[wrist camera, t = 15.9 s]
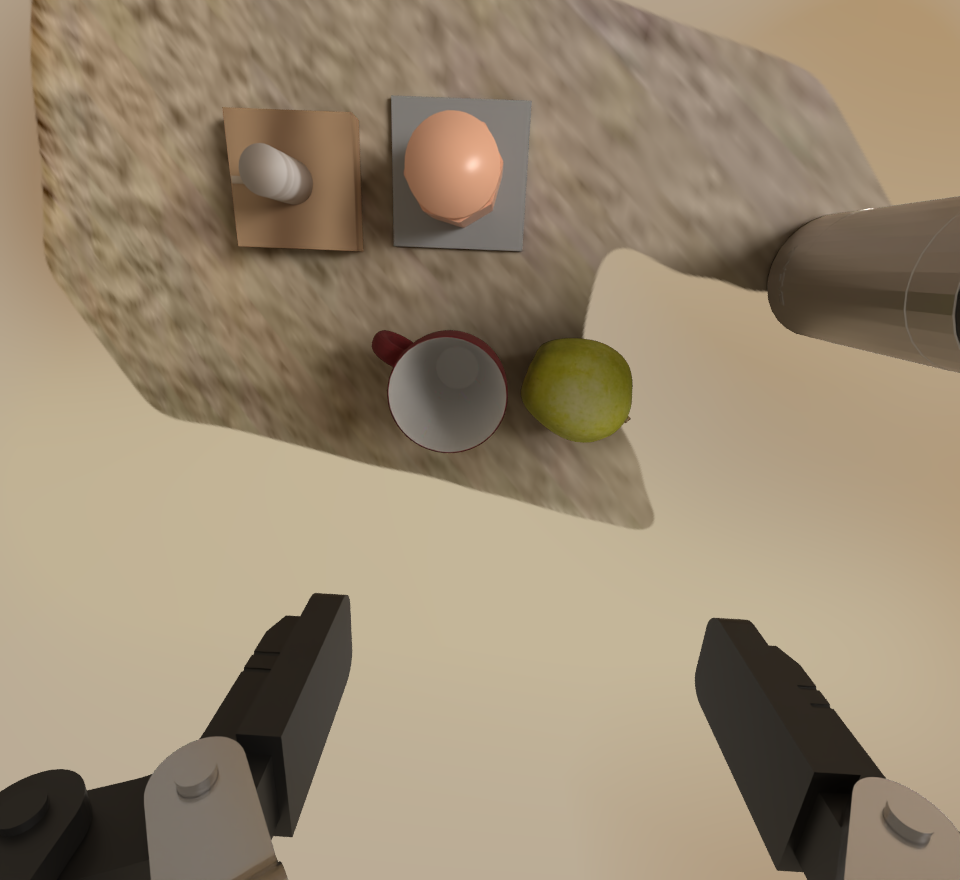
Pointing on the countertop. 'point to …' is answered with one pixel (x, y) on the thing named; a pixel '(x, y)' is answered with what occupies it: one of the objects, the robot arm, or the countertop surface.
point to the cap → (453, 167)
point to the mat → (508, 212)
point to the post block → (295, 178)
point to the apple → (578, 389)
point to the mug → (444, 388)
